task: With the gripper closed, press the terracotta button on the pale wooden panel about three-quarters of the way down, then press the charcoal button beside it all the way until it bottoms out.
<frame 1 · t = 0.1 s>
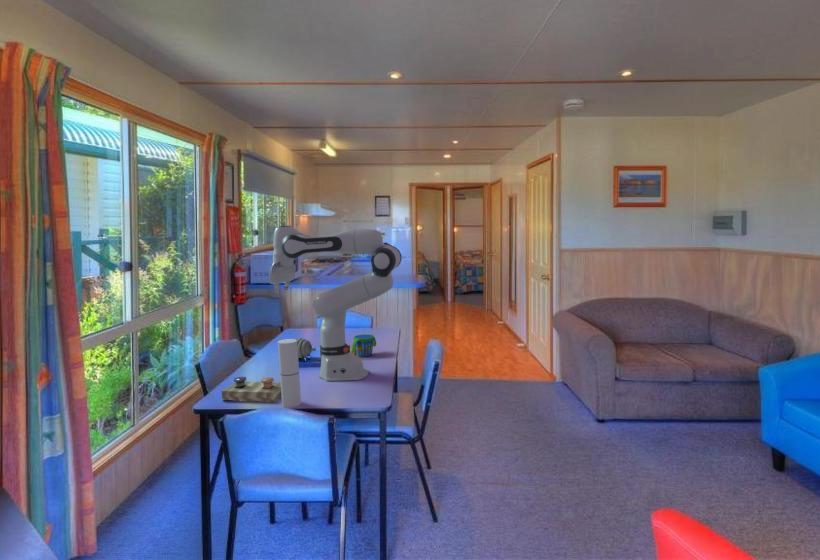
hand: (281, 291, 232), 39 cm above the table, tool pointing down, fingers open, 8 cm apart
terracotta button: (267, 384, 206), point 5 cm above the table, slide at 0.0 cm
cylindrical container: (291, 404, 197), on the table
snack cup: (364, 355, 264), on the table
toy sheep: (301, 360, 260), on the table
charcoal button: (240, 383, 208), point 5 cm above the table, slide at 0.0 cm
button panel: (254, 396, 208), on the table
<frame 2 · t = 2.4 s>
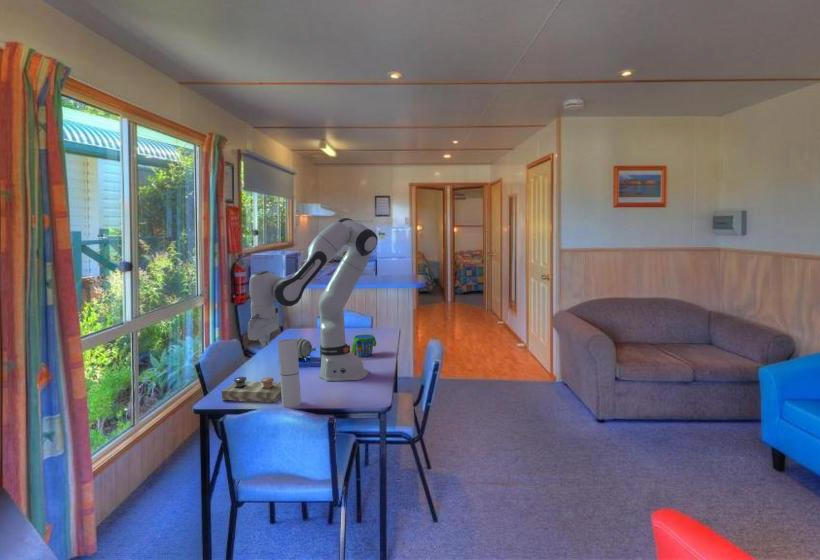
hand: (265, 346, 204), 21 cm above the table, tool pointing down, fingers closed
nothing on the table moved.
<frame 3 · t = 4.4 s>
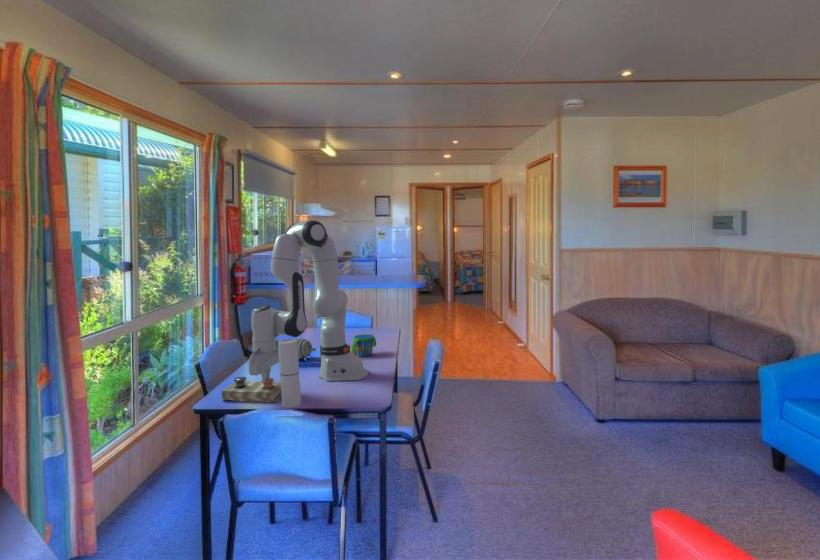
hand: (266, 379, 206), 7 cm above the table, tool pointing down, fingers closed, pressing on terracotta button
terracotta button: (267, 384, 206), point 5 cm above the table, slide at 0.2 cm, touching gripper
everything else where it was.
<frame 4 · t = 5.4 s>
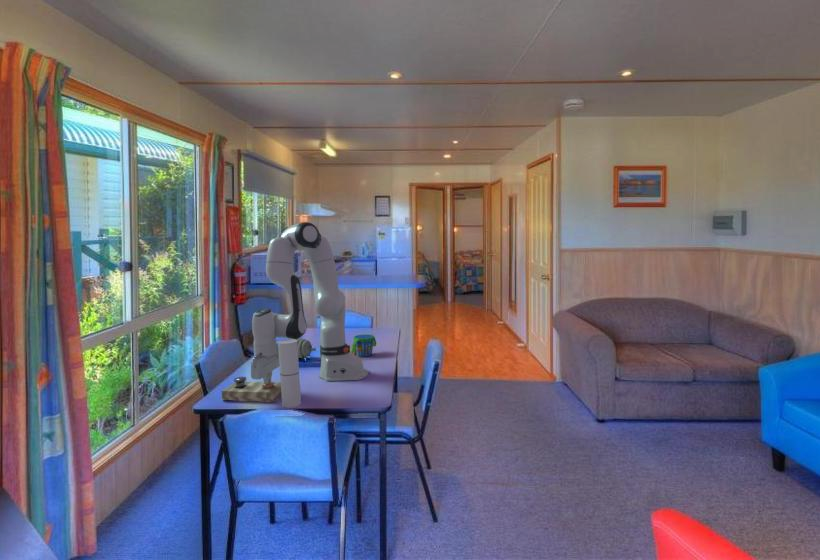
hand: (267, 383, 206), 6 cm above the table, tool pointing down, fingers closed
terracotta button: (268, 388, 206), point 3 cm above the table, slide at 1.7 cm
everything else where it was.
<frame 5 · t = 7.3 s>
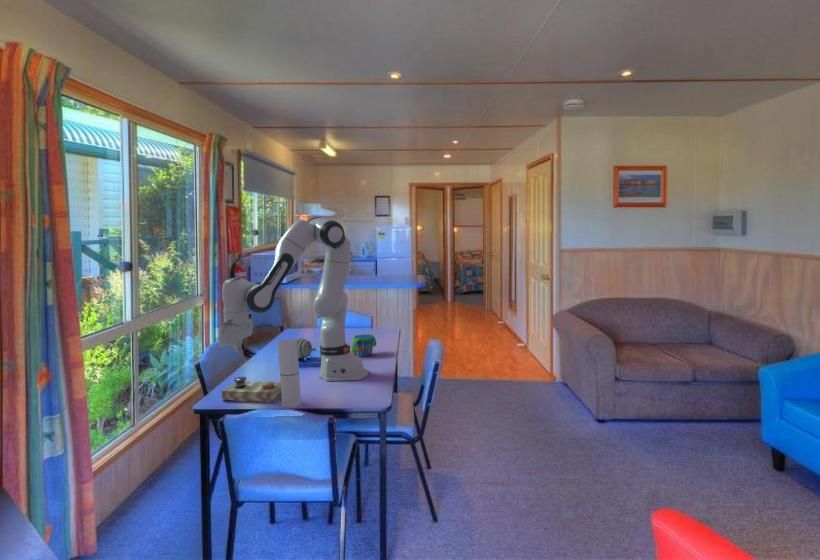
hand: (237, 351, 206), 19 cm above the table, tool pointing down, fingers closed
nothing on the table moved.
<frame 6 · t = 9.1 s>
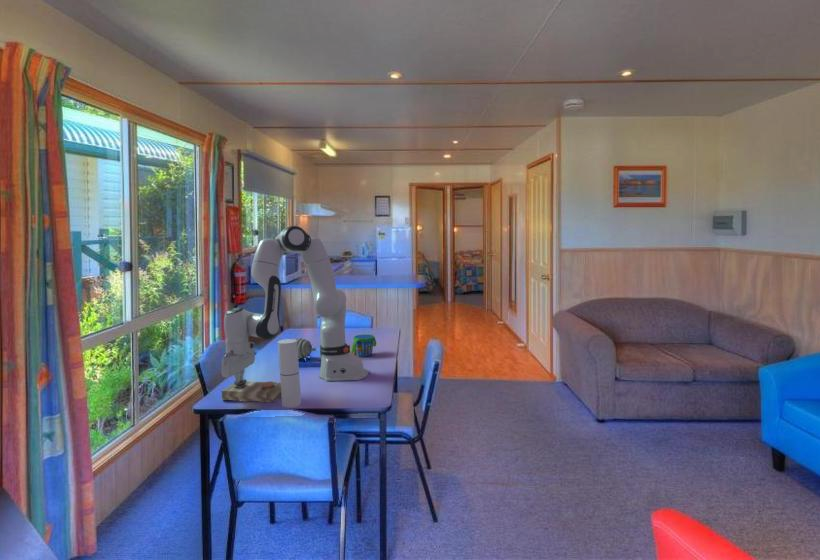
hand: (239, 381, 208), 6 cm above the table, tool pointing down, fingers closed, pressing on charcoal button
charcoal button: (240, 386, 208), point 4 cm above the table, slide at 1.1 cm, touching gripper
everything else where it was.
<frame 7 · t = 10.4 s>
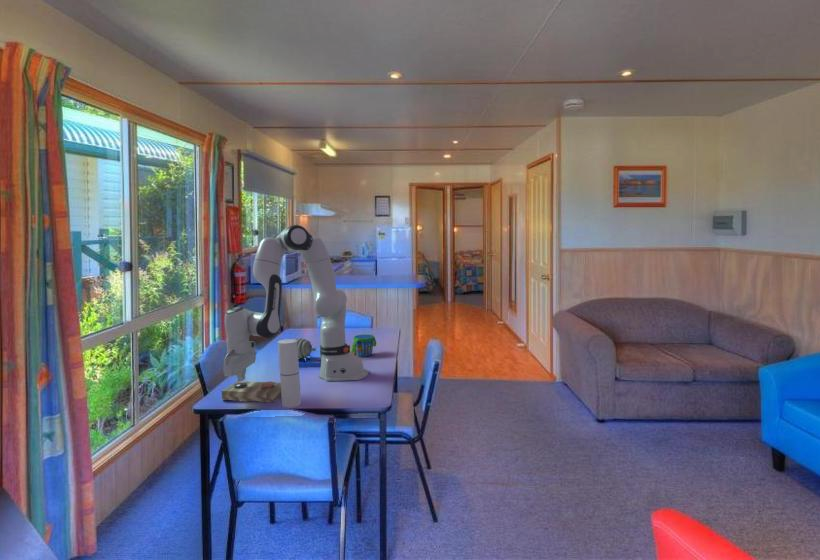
hand: (241, 380, 207), 7 cm above the table, tool pointing down, fingers closed
charcoal button: (240, 389, 208), point 3 cm above the table, slide at 2.5 cm
everything else where it was.
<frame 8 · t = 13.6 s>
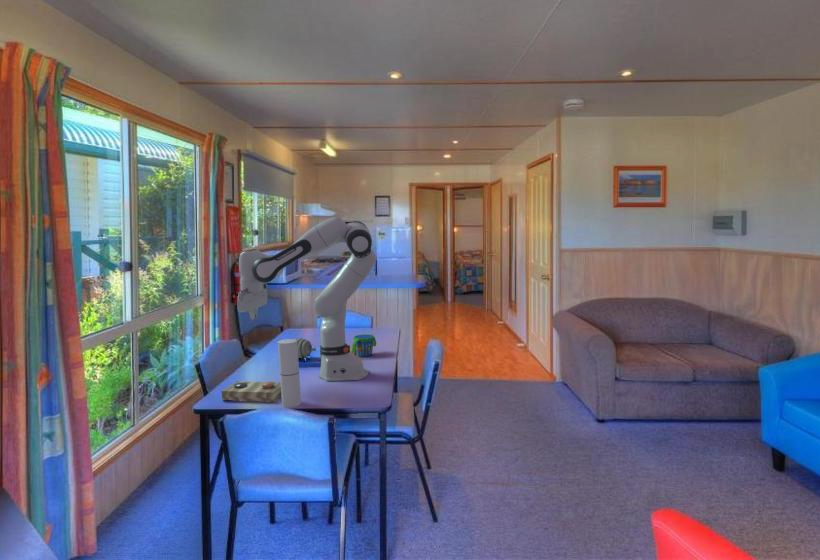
hand: (253, 318, 220), 29 cm above the table, tool pointing down, fingers closed
nothing on the table moved.
at the end: terracotta button slide at 1.7 cm; charcoal button slide at 2.5 cm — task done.
